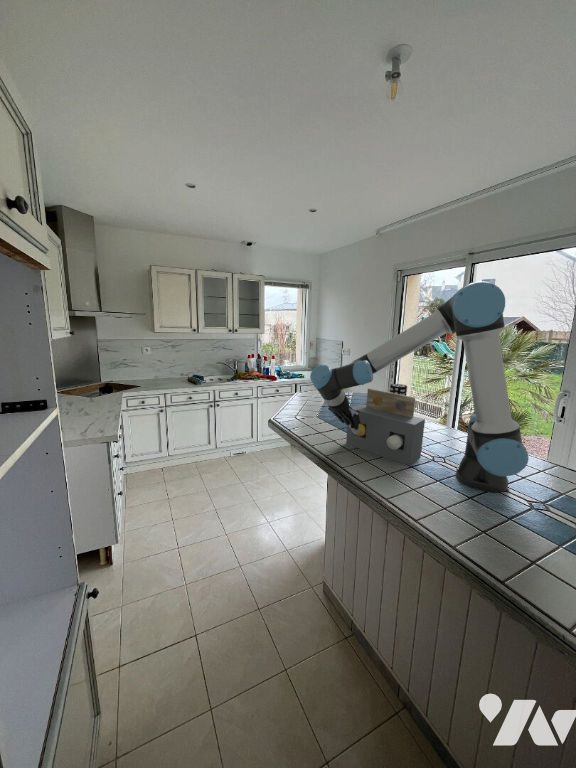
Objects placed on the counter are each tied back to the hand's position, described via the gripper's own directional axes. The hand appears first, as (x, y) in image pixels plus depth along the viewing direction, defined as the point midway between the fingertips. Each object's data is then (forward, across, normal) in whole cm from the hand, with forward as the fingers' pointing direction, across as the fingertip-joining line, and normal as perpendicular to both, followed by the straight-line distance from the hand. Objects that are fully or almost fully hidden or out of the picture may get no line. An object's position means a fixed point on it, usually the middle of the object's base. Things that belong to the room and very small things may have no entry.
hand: (357, 431), depth 128 cm
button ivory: (+2, +16, -1) cm, 16 cm away
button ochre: (+4, 0, +1) cm, 4 cm away
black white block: (+38, -5, +27) cm, 47 cm away
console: (+10, +8, 0) cm, 13 cm away
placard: (+1, +8, +13) cm, 15 cm away
